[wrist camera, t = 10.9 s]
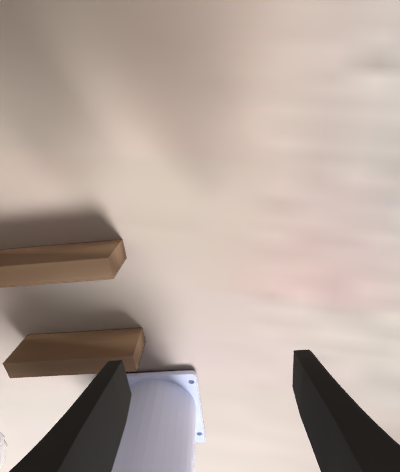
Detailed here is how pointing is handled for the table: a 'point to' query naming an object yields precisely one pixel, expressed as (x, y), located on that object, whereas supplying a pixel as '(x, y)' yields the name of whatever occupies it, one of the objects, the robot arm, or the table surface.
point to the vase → (2, 449)
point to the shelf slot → (72, 343)
